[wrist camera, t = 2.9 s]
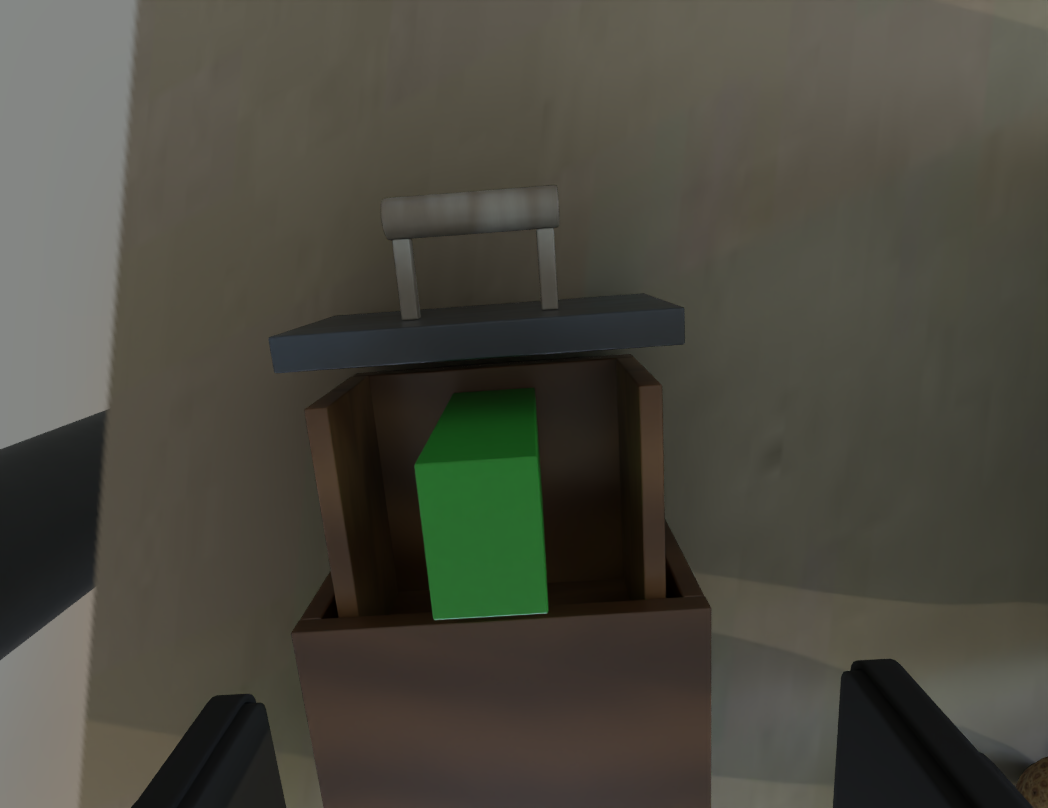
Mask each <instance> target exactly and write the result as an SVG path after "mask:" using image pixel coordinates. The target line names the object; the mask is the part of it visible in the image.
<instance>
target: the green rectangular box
mask: <svg viewBox="0 0 1048 808" xmlns="http://www.w3.org/2000/svg"><path fill="white" fill-rule="evenodd" d="M414 468H415V476H416V484H417V493H418V501H419V509H420V517H421V525H422V533H423V541H424V550H425V558H426V566H427V574H428V582H429V590H430V598H431V606H432V615H433V619H434V620H444V619H461V618H478V617H494V616H511V615H528V614H545V613H548V611H549V609H548V590H547V571H546V553H545V534H544V516H543V497H542V482H541V468H540V454H539V440H538V425H537V411H536V397H535V388H520V389H505V390H491V391H477V392H462V393H453V395H452V396H451V398H450V400H449V402H448V404H447V406H446V408H445V409H444V411H443V413H442V415H441V417H440V419H439V420H438V422H437V424H436V426H435V428H434V430H433V432H432V433H431V435H430V437H429V439H428V441H427V443H426V445H425V446H424V448H423V450H422V452H421V454H420V456H419V457H418V459H417V461H416V463H415V465H414Z"/></svg>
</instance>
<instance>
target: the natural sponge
mask: <svg viewBox="0 0 1048 808" xmlns="http://www.w3.org/2000/svg"><path fill="white" fill-rule="evenodd" d="M1015 787H1016V789H1017V790H1018V791H1019V792H1020V793H1021V794H1022V795H1023V796H1024V797H1025V799H1026V800H1027V801H1028V802H1029V803H1030V804H1031V805H1032V806H1033V807H1034V808H1048V756H1047V757H1045V758H1043V759H1041V760H1039V761H1037V762H1036V763H1034V764H1032V765H1031V766H1029V767H1028V768H1027V769H1026V770H1025V771H1024V772H1023V773H1022V775H1021V776H1020V777H1019V780H1018V782H1017V784H1016V786H1015Z"/></svg>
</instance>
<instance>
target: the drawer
mask: <svg viewBox="0 0 1048 808" xmlns="http://www.w3.org/2000/svg"><path fill="white" fill-rule="evenodd" d="M381 221H382V226H383V230H384V233H385V236H386V238H387V239H388V240H393V241H392V243H393V252H394V260H395V268H396V276H397V285H398V293H399V301H400V310H401V311H396V312H382V313H368V314H354V315H341V316H333V317H330V318H327V319H324V320H321V321H317V322H314V323H311V324H308V325H305V326H302V327H299V328H296V329H293V330H290V331H287V332H284V333H281V334H278V335H274V336H271V337H269V345H270V351H271V356H272V362H273V368H274V372H275V373H287V372H301V371H315V370H329V369H343V368H358V367H372V366H386V365H400V364H414V363H428V362H443V361H457V360H471V359H485V358H499V357H514V356H528V355H542V354H556V353H570V352H584V351H599V350H613V349H627V348H641V347H655V346H670V345H683V344H684V343H685V317H684V308H683V307H680V306H678V305H675V304H672V303H669V302H666V301H664V300H661V299H658V298H655V297H652V296H650V295H647V294H644V293H643V294H629V295H615V296H602V297H588V298H574V299H560V300H558V293H557V276H556V259H555V242H554V229H553V228H557V227H559V200H558V189H557V186H556V185H548V186H535V187H522V188H509V189H496V190H483V191H470V192H457V193H445V194H432V195H419V196H406V197H393V198H384V199H382V201H381ZM531 229H537V231H536V235H537V250H538V266H539V281H540V296H541V301H533V302H519V303H506V304H492V305H478V306H464V307H451V308H437V309H423V310H420V306H419V297H418V288H417V280H416V271H415V262H414V253H413V244H412V239H413V238H426V237H439V236H452V235H465V234H479V233H492V232H505V231H518V230H531ZM520 388H535V397H536V411H537V425H538V440H539V454H540V468H541V482H542V497H543V516H544V534H545V553H546V571H547V590H548V605H563V604H580V603H597V602H613V601H630V600H647V599H663V598H666V562H665V507H664V452H663V397H662V385H661V384H660V383H659V382H658V381H657V380H656V379H655V378H654V377H653V376H652V375H651V374H650V373H649V372H648V371H647V370H646V369H645V368H644V367H643V366H642V365H641V364H640V363H639V362H638V361H637V360H636V359H635V358H634V357H633V356H632V355H631V354H625V355H610V356H596V357H582V358H568V359H554V360H539V361H525V362H511V363H497V364H482V365H468V366H454V367H440V368H425V369H411V370H397V371H383V372H369V373H357V374H355V375H354V376H352V377H350V378H349V379H347V380H346V381H344V382H343V383H342V384H340V385H339V386H337V387H336V388H334V389H333V390H332V391H330V392H329V393H327V394H326V395H324V396H323V397H322V398H320V399H319V400H317V401H316V402H314V403H313V404H311V405H310V406H309V407H307V408H306V409H305V410H304V412H305V418H306V424H307V430H308V436H309V442H310V448H311V454H312V460H313V466H314V472H315V478H316V484H317V490H318V496H319V502H320V508H321V515H322V521H323V527H324V533H325V539H326V545H327V551H328V557H329V563H330V569H331V575H332V581H333V587H334V593H335V599H336V605H337V611H338V617H339V618H346V617H362V616H379V615H396V614H413V613H429V612H432V606H431V598H430V590H429V582H428V574H427V566H426V558H425V550H424V541H423V533H422V525H421V517H420V509H419V501H418V493H417V484H416V476H415V468H414V465H415V463H416V461H417V459H418V457H419V456H420V454H421V452H422V450H423V448H424V446H425V445H426V443H427V441H428V439H429V437H430V435H431V433H432V432H433V430H434V428H435V426H436V424H437V422H438V420H439V419H440V417H441V415H442V413H443V411H444V409H445V408H446V406H447V404H448V402H449V400H450V398H451V396H452V395H453V393H462V392H477V391H491V390H505V389H520Z"/></svg>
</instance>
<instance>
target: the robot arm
mask: <svg viewBox="0 0 1048 808" xmlns="http://www.w3.org/2000/svg"><path fill="white" fill-rule="evenodd" d="M131 808H286V804H285V799H284V795H283V790H282V785H281V780H280V775H279V770H278V765H277V761H276V756H275V751H274V746H273V741H272V736H271V731H270V726H269V722H268V717H267V712H266V708H265V706H264V704H263V703H256V700H255V698H254V696H253V695H251V694H236V695H217V696H215V697H212V698H211V699H210V700H209V702H208V703H207V704H206V705H205V707H204V708H203V710H202V711H201V712H200V714H199V715H198V717H197V718H196V719H195V721H194V722H193V724H192V725H191V726H190V728H189V729H188V731H187V732H186V733H185V735H184V736H183V738H182V739H181V740H180V742H179V743H178V745H177V746H176V747H175V749H174V750H173V752H172V753H171V754H170V756H169V757H168V758H167V760H166V761H165V763H164V764H163V765H162V767H161V768H160V770H159V771H158V772H157V774H156V775H155V777H154V778H153V779H152V781H151V782H150V784H149V785H148V786H147V788H146V789H145V791H144V792H143V793H142V795H141V796H140V798H139V799H138V800H137V801H136V802H135V803H134V805H133V806H132V807H131ZM833 808H1034V807H1033V806H1032V805H1031V804H1030V803H1029V802H1028V801H1027V800H1026V799H1025V797H1024V796H1023V795H1022V794H1021V793H1020V792H1019V791H1018V790H1017V789H1016V787H1015V786H1014V785H1013V784H1012V783H1011V782H1010V781H1009V780H1008V779H1007V778H1006V776H1005V775H1004V774H1003V773H1002V772H1001V771H1000V770H999V769H998V768H997V767H996V765H995V764H994V763H993V762H992V761H991V760H989V759H988V758H987V757H986V756H985V755H984V754H982V753H980V752H978V751H977V749H976V748H975V747H974V746H973V745H972V744H971V743H970V742H969V741H968V739H967V738H966V737H965V736H964V735H963V734H962V733H961V732H960V731H959V729H958V728H957V727H956V726H955V725H954V724H953V723H952V722H951V720H950V719H949V718H948V717H947V716H946V715H945V714H944V713H943V712H942V710H941V709H940V708H939V707H938V706H937V705H936V704H935V703H934V702H933V700H932V699H931V698H930V697H929V696H928V695H927V694H926V693H925V691H924V690H923V689H922V688H921V687H920V686H919V685H918V684H917V683H916V681H915V680H914V679H913V678H912V677H911V676H910V675H909V674H908V673H907V671H906V670H905V669H904V668H903V667H902V666H901V665H900V664H899V663H898V662H897V661H896V660H893V659H876V660H858V661H854V662H853V664H852V665H851V670H850V671H845V672H843V674H842V677H841V688H840V704H839V720H838V735H837V751H836V767H835V783H834V799H833Z"/></svg>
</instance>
